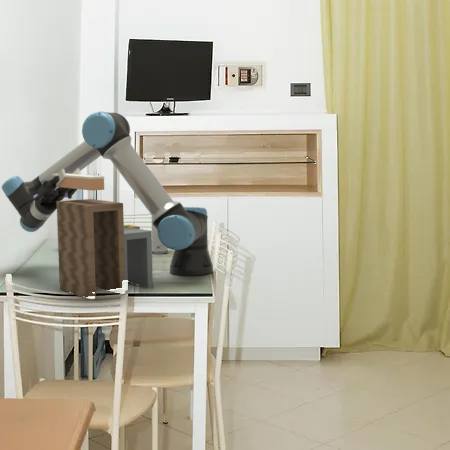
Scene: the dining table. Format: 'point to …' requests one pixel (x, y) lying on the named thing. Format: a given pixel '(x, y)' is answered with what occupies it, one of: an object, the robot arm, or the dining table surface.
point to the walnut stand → (90, 245)
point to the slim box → (82, 182)
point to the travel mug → (157, 243)
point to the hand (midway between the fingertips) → (71, 172)
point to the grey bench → (138, 256)
